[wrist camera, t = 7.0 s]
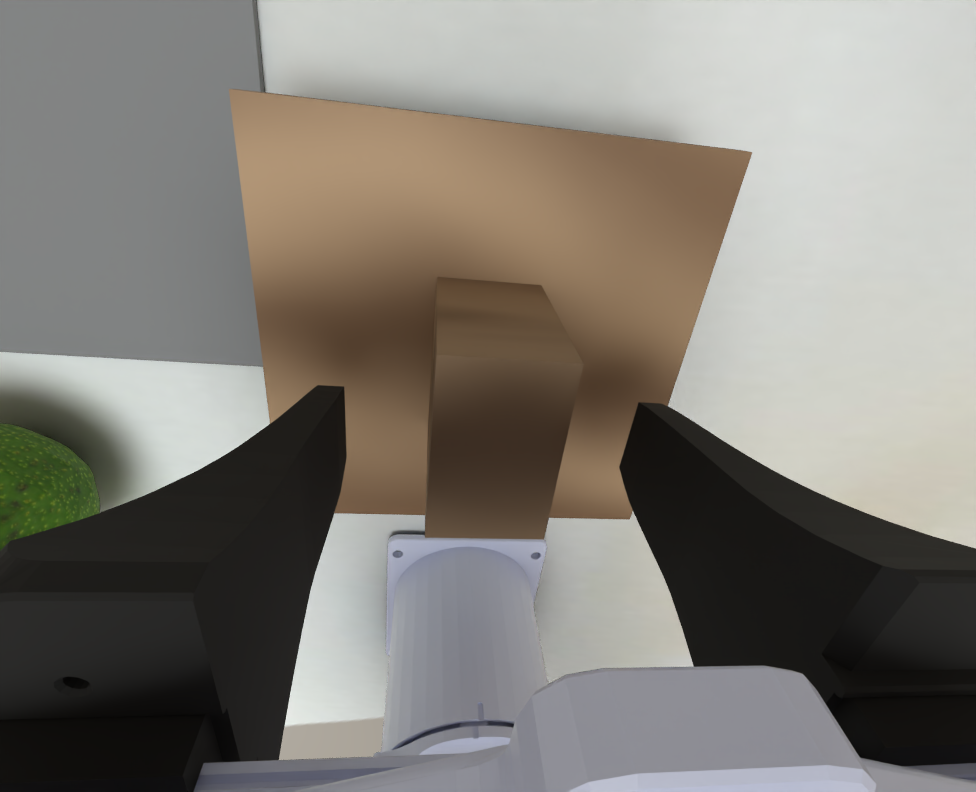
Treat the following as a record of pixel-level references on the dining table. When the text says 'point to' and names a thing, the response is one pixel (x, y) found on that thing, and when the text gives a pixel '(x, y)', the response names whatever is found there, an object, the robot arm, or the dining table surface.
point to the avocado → (41, 484)
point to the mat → (125, 179)
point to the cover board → (470, 220)
